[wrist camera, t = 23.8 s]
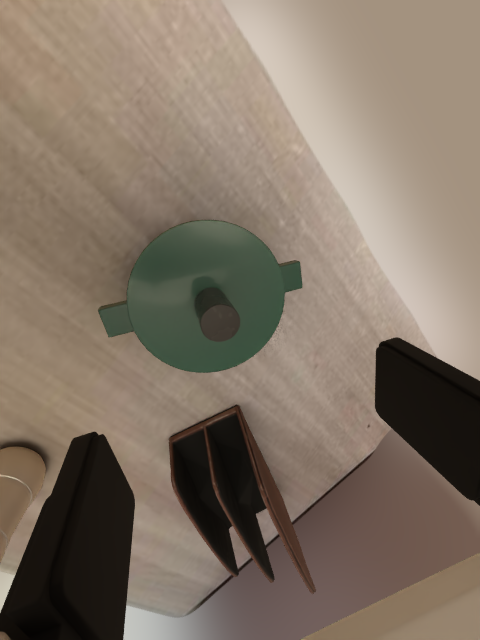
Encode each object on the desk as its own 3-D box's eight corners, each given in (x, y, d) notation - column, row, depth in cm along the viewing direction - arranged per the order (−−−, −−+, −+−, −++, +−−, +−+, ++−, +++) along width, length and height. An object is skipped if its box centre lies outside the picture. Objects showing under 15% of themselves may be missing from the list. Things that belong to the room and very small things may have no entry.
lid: (103, 238, 20) (82, 247, 15) (268, 204, 22) (300, 202, 17) (155, 382, 25) (152, 427, 20) (287, 344, 27) (316, 376, 22)
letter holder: (238, 403, 37) (275, 502, 25) (280, 493, 45) (325, 603, 33) (167, 436, 37) (168, 556, 24) (223, 522, 45) (246, 647, 32)
